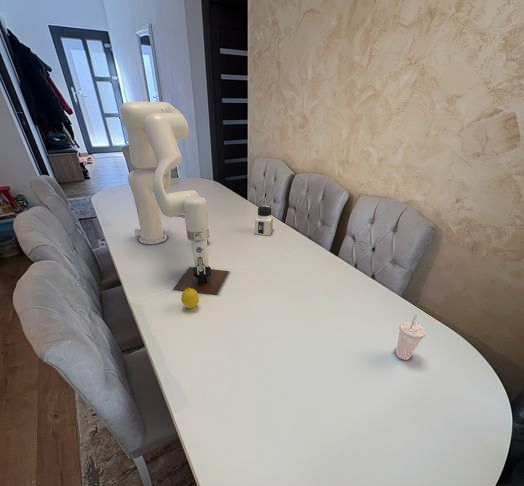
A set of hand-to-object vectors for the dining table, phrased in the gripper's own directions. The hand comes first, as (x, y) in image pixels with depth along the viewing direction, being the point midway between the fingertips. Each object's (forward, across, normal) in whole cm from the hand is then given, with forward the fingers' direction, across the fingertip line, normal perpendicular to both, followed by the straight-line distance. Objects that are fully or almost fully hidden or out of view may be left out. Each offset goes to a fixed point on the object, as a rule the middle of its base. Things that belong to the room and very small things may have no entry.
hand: (202, 277), depth 115 cm
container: (+1, +43, -32) cm, 53 cm away
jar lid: (-3, 0, 0) cm, 3 cm away
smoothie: (+2, -47, -54) cm, 72 cm away
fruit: (+2, -17, +4) cm, 17 cm away
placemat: (+1, 0, 0) cm, 1 cm away
